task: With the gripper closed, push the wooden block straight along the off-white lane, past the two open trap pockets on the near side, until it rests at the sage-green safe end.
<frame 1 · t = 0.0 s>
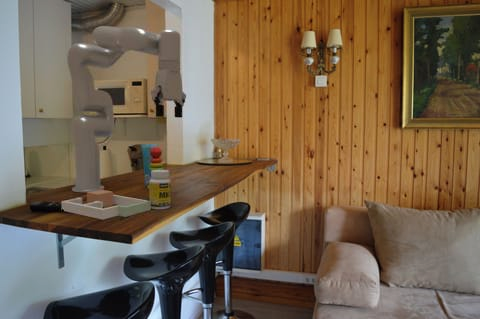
hand: (169, 117, 128), 31 cm above the worktop, tool pointing down, fingers open, 9 cm apart
tube: (149, 185, 169), on the worktop
supplement bottle: (160, 207, 126), on the worktop
stacking toy: (156, 189, 159), on the worktop
block: (100, 206, 127), resting in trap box
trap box: (112, 207, 124), on the worktop
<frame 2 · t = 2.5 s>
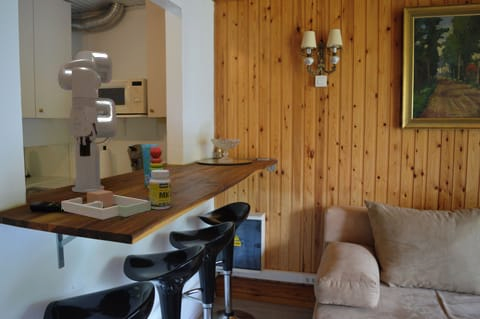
hand: (85, 156, 129), 17 cm above the worktop, tool pointing down, fingers closed
nothing on the worktop moved.
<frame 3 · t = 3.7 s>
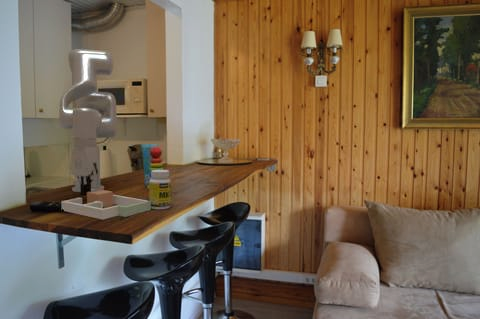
hand: (86, 194, 129), 3 cm above the worktop, tool pointing down, fingers closed
nothing on the worktop moved.
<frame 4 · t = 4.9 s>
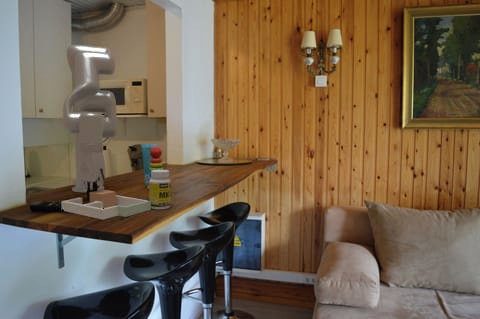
hand: (92, 200, 128), 1 cm above the worktop, tool pointing down, fingers closed
block: (103, 206, 126), resting in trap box, touching gripper
everything else where it was.
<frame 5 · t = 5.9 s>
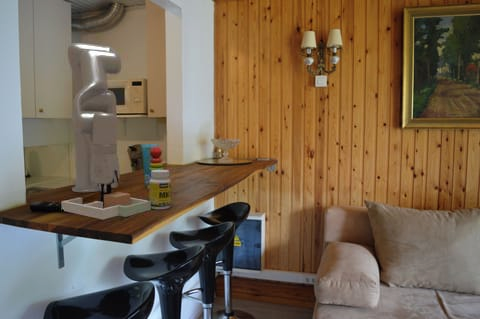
hand: (106, 202, 125), 1 cm above the worktop, tool pointing down, fingers closed
block: (117, 208, 122), resting in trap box, touching gripper
everything else where it was.
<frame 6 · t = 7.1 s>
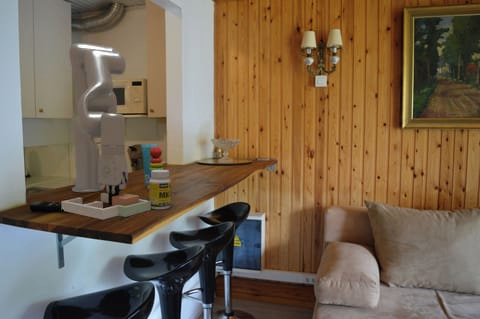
hand: (113, 204, 123), 1 cm above the worktop, tool pointing down, fingers closed
block: (125, 211, 121), resting in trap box
everything else where it was.
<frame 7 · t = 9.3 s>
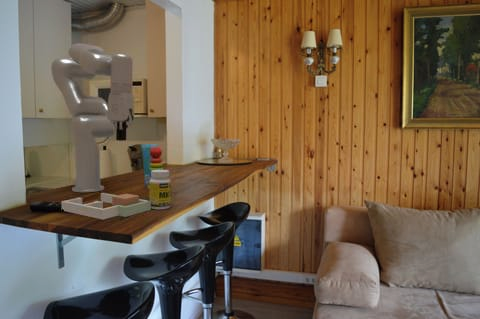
hand: (121, 140, 134), 22 cm above the worktop, tool pointing down, fingers closed
nothing on the worktop moved.
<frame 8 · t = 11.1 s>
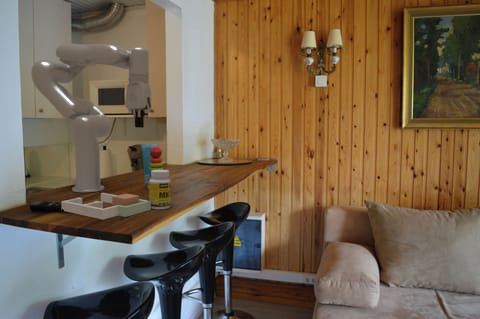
hand: (139, 127, 145), 27 cm above the worktop, tool pointing down, fingers closed
nothing on the worktop moved.
at the end: block inside the target area on the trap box (0.5 cm from its centre), point 0.0 cm above the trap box's base; block tilted 0° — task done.
